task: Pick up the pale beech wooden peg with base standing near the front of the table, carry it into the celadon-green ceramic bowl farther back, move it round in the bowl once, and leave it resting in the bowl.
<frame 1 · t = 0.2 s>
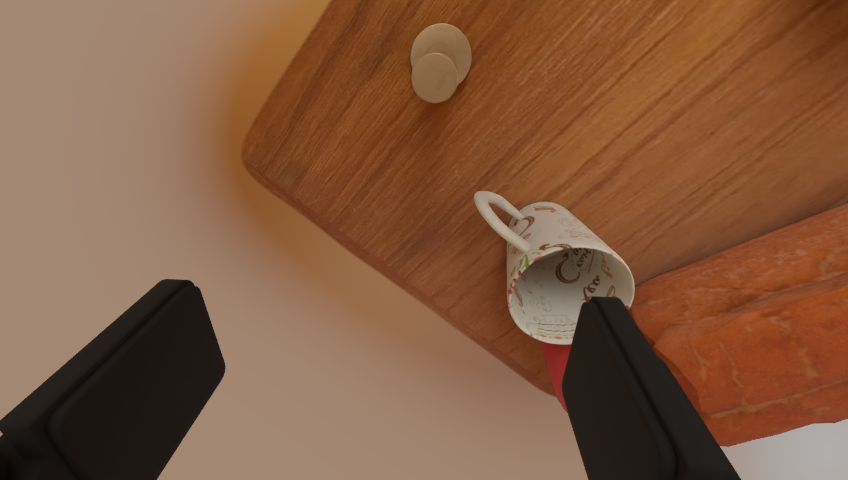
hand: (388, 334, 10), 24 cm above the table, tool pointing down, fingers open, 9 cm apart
bread: (763, 289, 37), on the table
beer can: (564, 305, 39), on the table
mug: (522, 217, 35), on the table
wooden peg with base: (441, 57, 29), on the table
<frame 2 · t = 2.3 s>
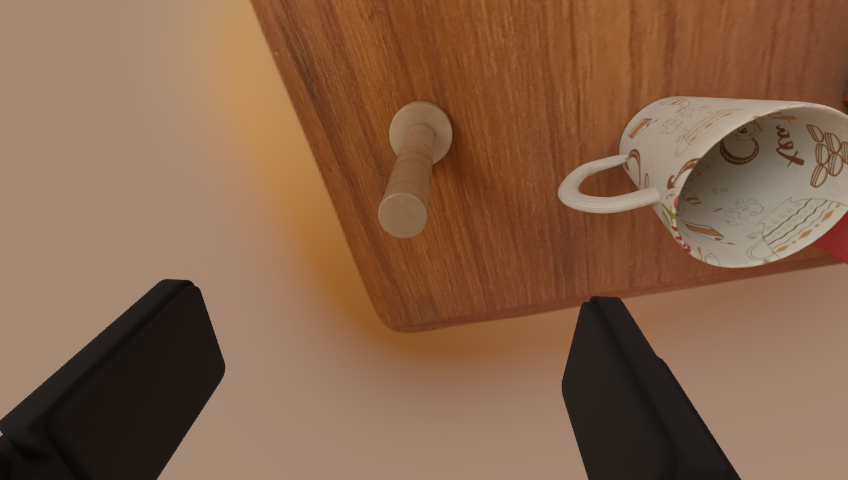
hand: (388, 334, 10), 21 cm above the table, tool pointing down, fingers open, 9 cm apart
beer can: (782, 166, 28), on the table
mug: (630, 149, 28), on the table
wooden peg with base: (421, 132, 28), on the table
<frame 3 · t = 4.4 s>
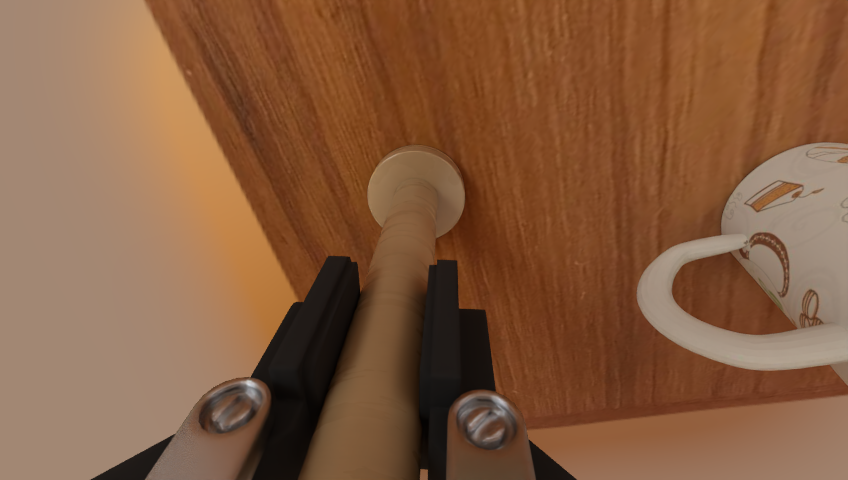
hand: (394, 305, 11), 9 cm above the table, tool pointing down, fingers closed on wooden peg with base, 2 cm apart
mug: (737, 218, 18), on the table
wooden peg with base: (417, 191, 18), on the table, touching gripper
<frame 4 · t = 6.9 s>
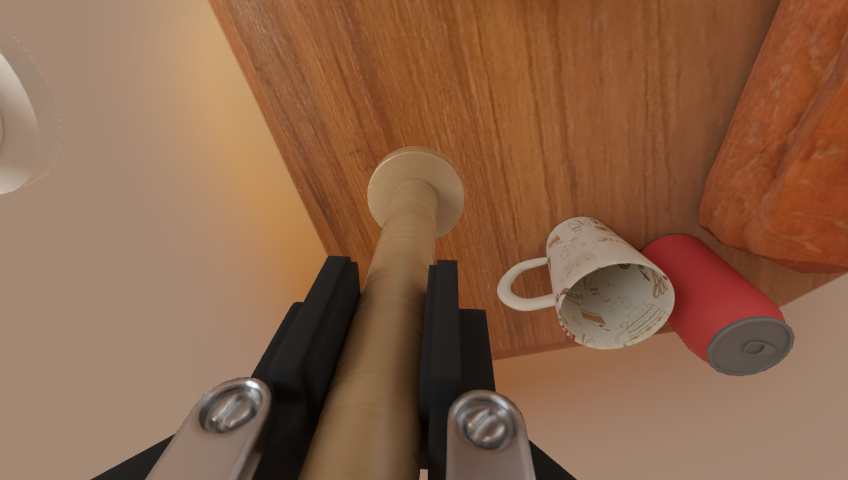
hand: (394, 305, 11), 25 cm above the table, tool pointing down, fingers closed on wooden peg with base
bread: (834, 77, 30), on the table
beer can: (666, 259, 38), on the table
mug: (554, 248, 38), on the table
wooden peg with base: (417, 191, 18), point 17 cm above the table, touching gripper
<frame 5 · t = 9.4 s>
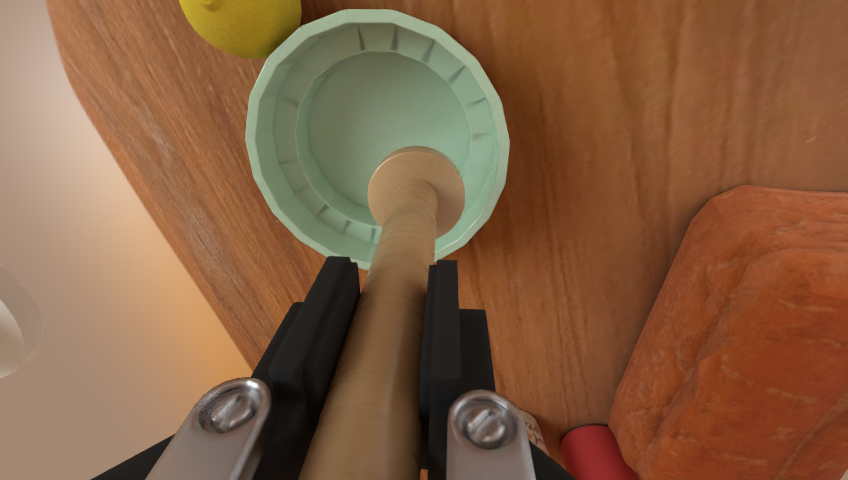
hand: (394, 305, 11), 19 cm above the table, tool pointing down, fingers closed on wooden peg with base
bread: (717, 326, 34), on the table
beer can: (588, 438, 43), on the table
lemon: (275, 5, 24), on the table
mug: (490, 427, 43), on the table
wooden peg with base: (417, 191, 18), point 11 cm above the table, touching gripper
bowl: (389, 136, 28), on the table
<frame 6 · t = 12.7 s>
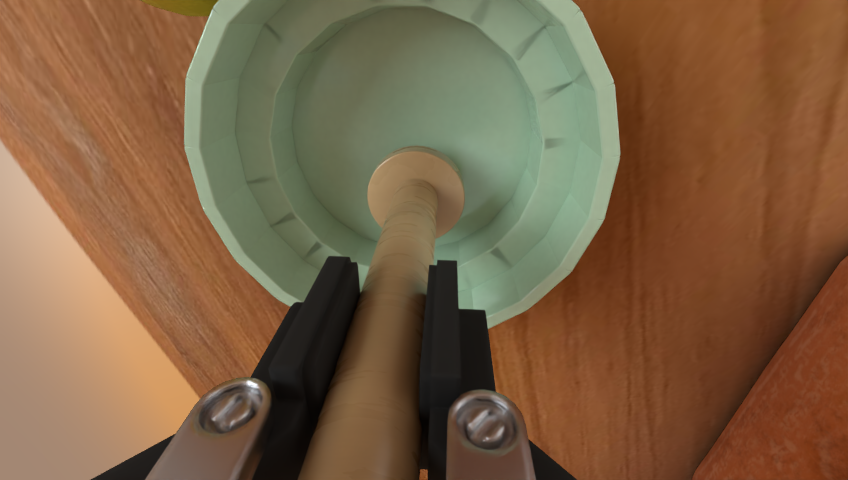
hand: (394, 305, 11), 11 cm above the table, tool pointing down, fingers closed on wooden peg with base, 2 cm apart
bread: (844, 395, 26), on the table
wooden peg with base: (417, 191, 18), point 2 cm above the table, touching gripper
bowl: (411, 141, 19), on the table
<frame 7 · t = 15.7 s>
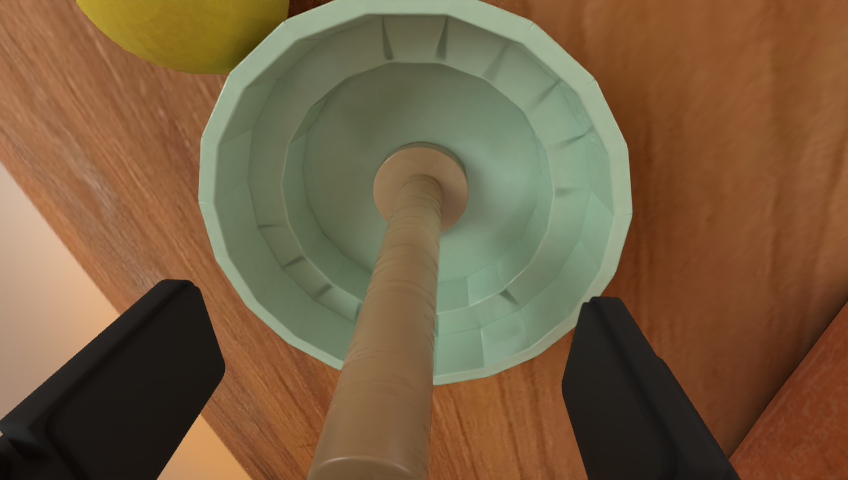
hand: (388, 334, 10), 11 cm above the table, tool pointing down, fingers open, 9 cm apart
wooden peg with base: (421, 186, 18), point 1 cm above the table, touching bowl
bowl: (420, 181, 19), on the table
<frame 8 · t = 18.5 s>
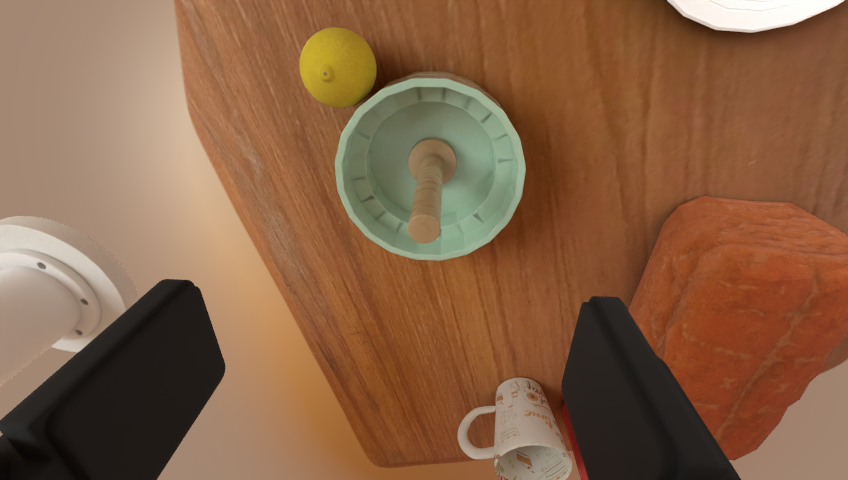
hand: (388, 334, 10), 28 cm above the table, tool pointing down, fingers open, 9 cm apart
bread: (688, 308, 43), on the table
beer can: (585, 403, 51), on the table
lemon: (351, 64, 33), on the table
mug: (502, 394, 51), on the table
wooden peg with base: (432, 160, 36), point 1 cm above the table, touching bowl
bowl: (431, 158, 36), on the table
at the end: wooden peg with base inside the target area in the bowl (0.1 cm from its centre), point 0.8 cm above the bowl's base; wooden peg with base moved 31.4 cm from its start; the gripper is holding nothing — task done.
